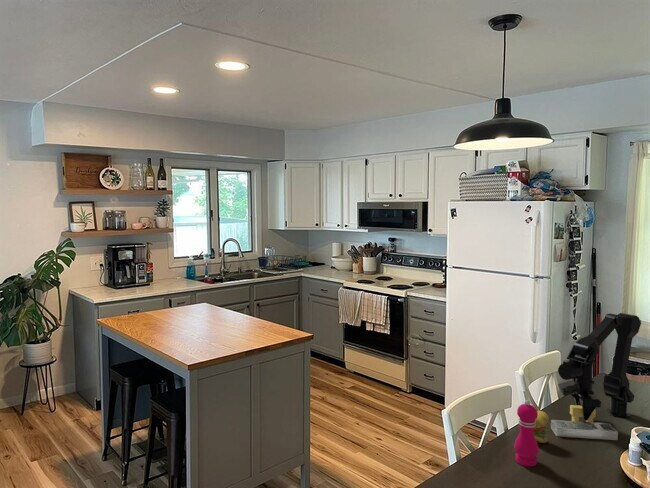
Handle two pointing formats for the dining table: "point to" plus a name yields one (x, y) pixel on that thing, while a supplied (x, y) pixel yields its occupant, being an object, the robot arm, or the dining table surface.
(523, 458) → the pepper mill
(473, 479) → the dining table surface
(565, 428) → the grey compartment tray
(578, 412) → the pale yellow block
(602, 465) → the dining table surface
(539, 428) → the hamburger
